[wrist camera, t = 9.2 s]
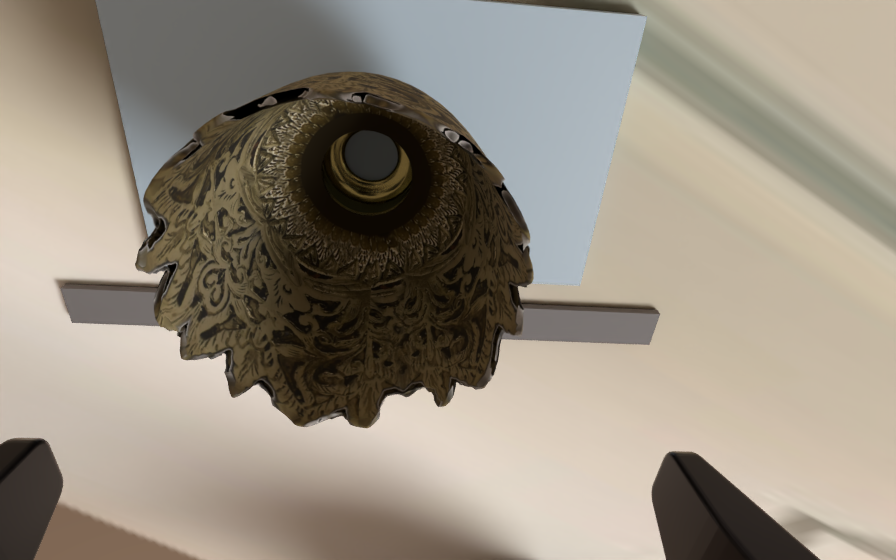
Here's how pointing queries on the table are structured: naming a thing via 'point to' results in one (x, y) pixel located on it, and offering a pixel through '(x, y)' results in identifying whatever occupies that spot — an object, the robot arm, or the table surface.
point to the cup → (337, 250)
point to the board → (411, 61)
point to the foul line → (537, 325)
